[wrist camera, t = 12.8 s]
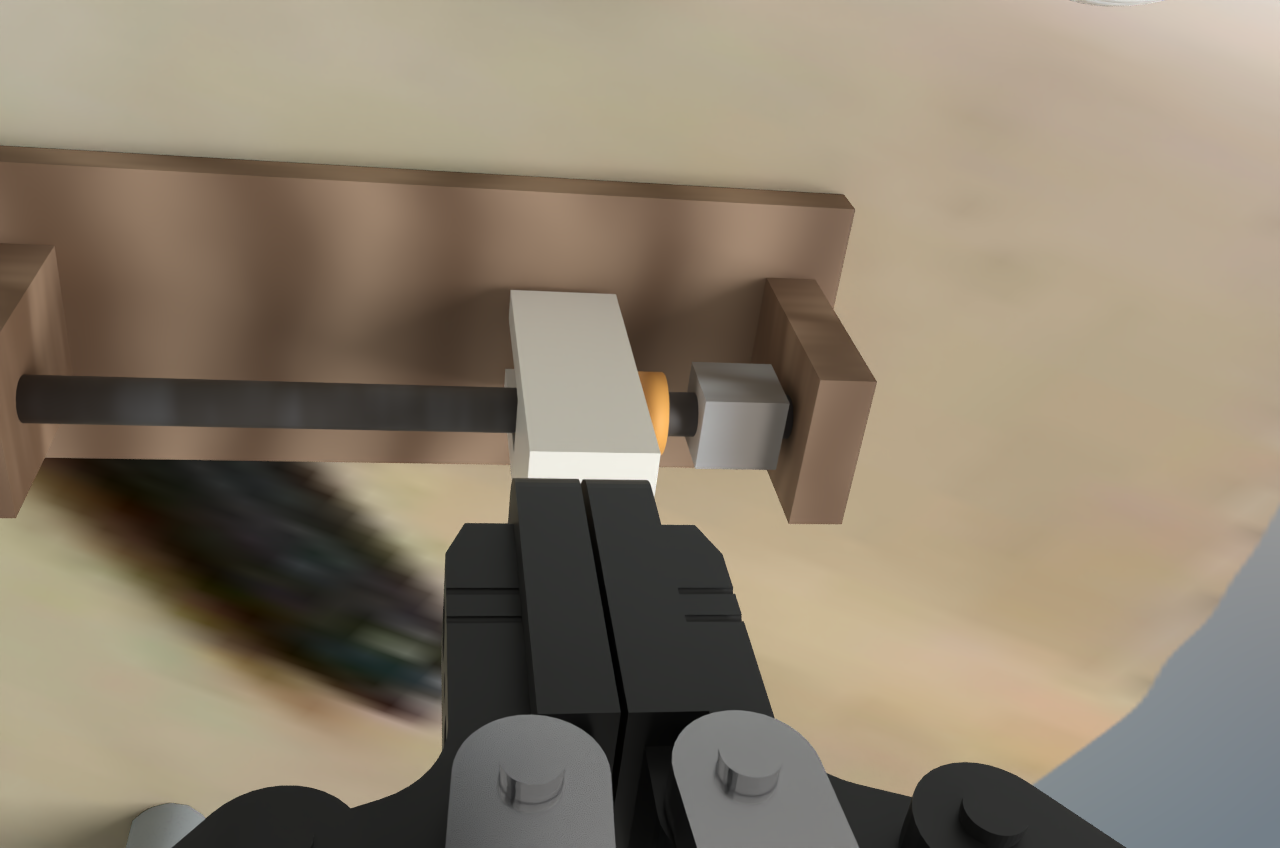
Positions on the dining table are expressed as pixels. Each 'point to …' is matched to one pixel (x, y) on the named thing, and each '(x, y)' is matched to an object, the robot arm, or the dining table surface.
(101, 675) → the dining table surface
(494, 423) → the cord stand
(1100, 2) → the coffee cup
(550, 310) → the white slider block
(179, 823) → the flask
